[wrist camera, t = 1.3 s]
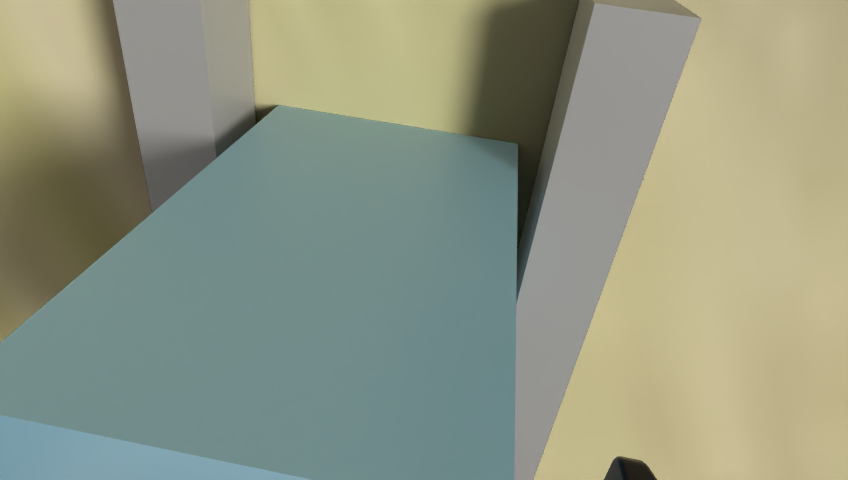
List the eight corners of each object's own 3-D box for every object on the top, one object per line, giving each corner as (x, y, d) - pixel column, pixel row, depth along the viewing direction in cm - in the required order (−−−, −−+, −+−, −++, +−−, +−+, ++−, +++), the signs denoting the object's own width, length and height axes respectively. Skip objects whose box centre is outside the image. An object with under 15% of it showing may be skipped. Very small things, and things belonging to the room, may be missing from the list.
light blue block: (518, 143, 11) (511, 670, 4) (471, 357, 14) (415, 870, 7) (279, 104, 11) (-197, 509, 4) (286, 321, 15) (36, 774, 7)
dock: (672, -1, 9) (956, 188, 3) (489, 551, 19) (474, 859, 13) (164, -74, 10) (-402, -27, 4) (237, 497, 19) (109, 769, 13)
